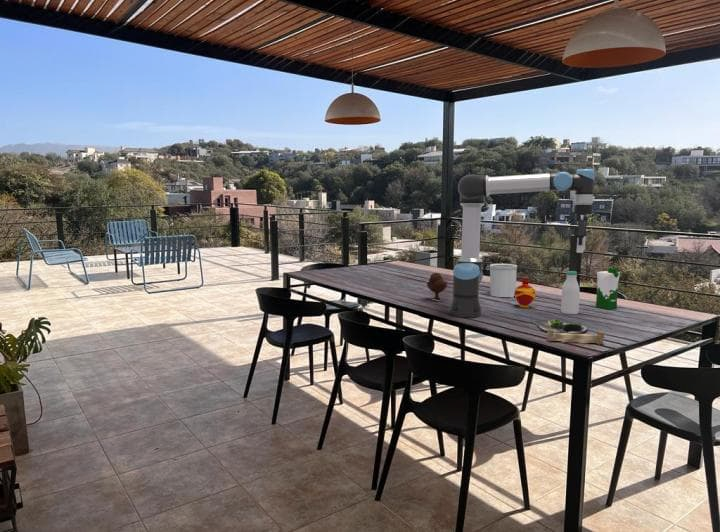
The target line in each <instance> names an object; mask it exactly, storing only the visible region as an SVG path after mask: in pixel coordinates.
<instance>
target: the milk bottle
mask: <svg viewBox="0 0 720 532" xmlns="http://www.w3.org/2000/svg"><path fill="white" fill-rule="evenodd" d="M565 274H566V275H565V276H566V279H565V281H564V282H563V286H562V288H561V304H560V312H561V313H562V314H566V315H578V314H579V310H580V307H579V306H580V286H579V283H578V280H577V277H578V272H577V271H576V270H567V271H566V273H565Z"/></svg>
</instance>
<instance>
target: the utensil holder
mask: <svg viewBox="0 0 720 532" xmlns="http://www.w3.org/2000/svg"><path fill="white" fill-rule="evenodd" d="M517 268H518V265H517V264H510V263H491V264H489V269H490V270H489V290H490V291H489V295H490V296H491V295H492V296H491V297H493V296H497V297H496V298H499V297H511V298H515V297H514V295H515V294H514V293H515V289H516V288H517Z"/></svg>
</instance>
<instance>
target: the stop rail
mask: <svg viewBox="0 0 720 532" xmlns="http://www.w3.org/2000/svg"><path fill="white" fill-rule="evenodd" d="M546 333H547V334H546V341H547V340H548V341H562V342H561V343H565V342H578V343H577V344H585V343H597V344H596V345H600V344H603V345H604V339H605V333H604V331H602V330H597V331H596V334H588V333H587V334H586V333H584V334H569V333H553V329H547V332H546ZM548 341H547V342H548Z"/></svg>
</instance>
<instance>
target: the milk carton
mask: <svg viewBox="0 0 720 532" xmlns="http://www.w3.org/2000/svg"><path fill="white" fill-rule="evenodd" d="M620 275H621V272H618V268H615V267H609V268H607V271H606V270H604V271H597V272H596V277H597V280H596V281H597V282H596V283H597V284H596V297H595V299H596V300H595V308H599V309H604V310H615V309H617V308H618V292H619V280H620Z"/></svg>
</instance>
